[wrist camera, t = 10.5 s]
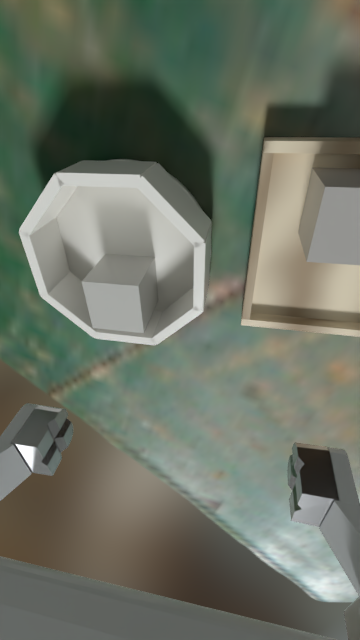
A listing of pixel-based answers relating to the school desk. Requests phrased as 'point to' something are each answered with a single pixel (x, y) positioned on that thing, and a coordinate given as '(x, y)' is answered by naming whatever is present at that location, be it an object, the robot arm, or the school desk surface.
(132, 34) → the school desk surface
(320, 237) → the grey rectangular block
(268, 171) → the tray
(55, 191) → the bowl
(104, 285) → the grey cube
